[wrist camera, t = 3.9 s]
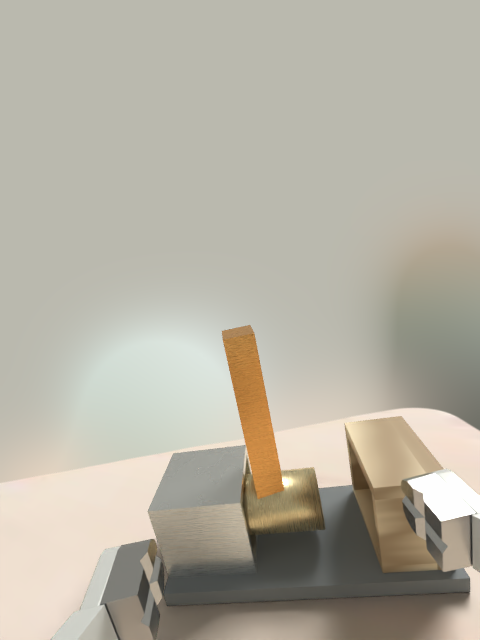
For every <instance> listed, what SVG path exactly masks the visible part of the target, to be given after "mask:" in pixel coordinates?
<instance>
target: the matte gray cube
mask: <svg viewBox="0 0 480 640" xmlns="http://www.w3.org/2000/svg"><path fill="white" fill-rule="evenodd" d="M245 474H252V471H251V467H250V462H249V458H248V453H247V448H246V445H243V446H234V447H225V448H217V449H208V450H199V451H191V452H182V453H173V455H172V458H171V460H170V462H169V464H168V467H167V469H166V471H165V473H164V476H163V478H162V480H161V482H160V485H159V487H158V489H157V491H156V494H155V496H154V498H153V500H152V503H151V505H150V507H149V509H148V514H149V517H150V520H151V523H152V527H153V530H154V533H155V536H156V539H157V542H158V545H159V548H160V551H161V554H162V557H163V560H164V563H165V567H166V570H167V573H168V576H169V578H182V577H199V576H216V575H233V574H250V573H257V540H258V535H249V531H248V527H247V523H246V518H245V514H244V510H243V506H242V501H243V490H244V479H245Z"/></svg>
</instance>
